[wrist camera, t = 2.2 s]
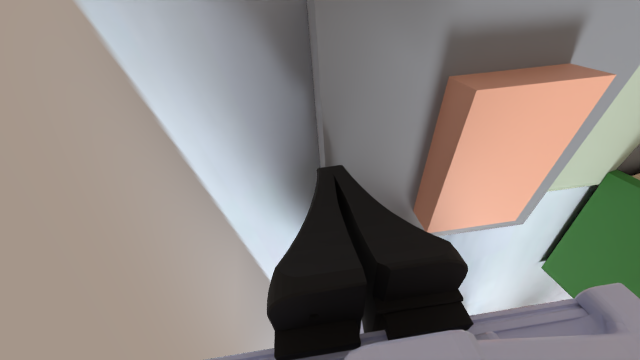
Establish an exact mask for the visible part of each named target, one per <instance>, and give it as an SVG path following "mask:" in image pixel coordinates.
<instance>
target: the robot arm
mask: <svg viewBox="0 0 640 360" xmlns="http://www.w3.org/2000/svg"><path fill="white" fill-rule="evenodd" d="M467 272H468V266H467V264H466V263H465V262H464V260H463V259H462V257H461V256H460V254H459V253H458V251H457V250H456V249H455V248H454V247H453V245H452V244H451V243H450V242H449V241H446V240H444V239H442V238H440V237H437V236H435V235H433V234H430V233H428V232H426V231H424V230H422V229H420V228H418V227H416V226H414V225H413V224H411V223H409V222H407V221H406V220H404V219H402V218H401V217H399V216H397V215H396V214H394V213H393V212H391V211H390V210H388V209H387V208H386V207H384V206H383V205H382V204H380V203H379V202H378V201H377V200H376V199H374V198H373V197H372V196H371V195H370V194H369V193H368V192H367V191H366V190H364V189H363V188H362V187H361V185H360V184H359V183H358V182H357V181H356V180H355V179H354V178H353V177H352V176H351V175H350V174H349V172H348V171H347V170H346V169H345V167H344V166H343V165H337V166H329V167H321V168H318V169H317V183H316V188H315V193H314V197H313V200H312V203H311V206H310V209H309V211H308V214H307V216H306V219H305V221H304V223H303V225H302V227H301V229H300V231H299V233H298V235H297V236H296V238H295V240H294V241H293V243H292V245H291V246H290V248H289V249H288V251H287V252H286V254H285V255H284V257H283V258H282V259H281V261H280V262H279V263H278V265H277V266H276V267H275V270H274V273H273V276H272V279H271V283H270V287H269V292H268V299H267V316H268V318H269V320H270V322H271V324H272V326H273V328H274V330H275V344H274V348H272V349H267V350H260V351H254V352H248V353H242V354H236V355H230V356H224V357H217V358H211V359H205V360H640V299H639V298H638V297H637V296H636V295H635V294H634V293H632V292H631V291H630V290H629V289H628V288H627V287H625V286H624V285H623V284H621V283H613V284H607V285H601V286H595V287H591V288H588V289H586V290H584V291H582V292H580V293H579V294H578V295H577V296H576V297H575V298H574V299H568V300H562V301H556V302H550V303H544V304H538V305H532V306H526V307H520V308H514V309H508V310H502V311H496V312H490V313H483V314H477V315H471V316H469V315H468V313H467V311H466V309H465V308H464V306H463V304H462V301H463V297H462V295H461V293H460V291H459V290H458V288H459V287H460V285H461V283H462V282H463V280H464V279H465V277H466V274H467Z"/></svg>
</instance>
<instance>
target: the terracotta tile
mask: <svg viewBox="0 0 640 360" xmlns="http://www.w3.org/2000/svg"><path fill="white" fill-rule="evenodd" d="M615 76H616V74H612V73H608V72H603V71H599V70H595V69H591V68H587V67H583V66H579V65H575V64H571V63H569V64H560V65H551V66H541V67H532V68H523V69H514V70H504V71H495V72H486V73H477V74H467V75H458V76H449V78H448V82H447V86H446V89H445V93H444V97H443V101H442V104H441V108H440V112H439V116H438V119H437V123H436V127H435V131H434V134H433V138H432V142H431V146H430V149H429V153H428V157H427V161H426V164H425V168H424V172H423V175H422V179H421V183H420V187H419V190H418V194H417V198H416V202H415V205H414V209H413V212H414V213H415V215H416V217H417V218H418V220H419V222H420V223H421V225H422V227H423V229H424V230H425V231H426V232H428V233H434V232H441V231H448V230H455V229H462V228H468V227H475V226H482V225H489V224H496V223H503V222H510V221H516V219H517V218H518V216H519V215H520V213H521V212H522V210H523V209H524V208H525V206H526V205H527V203H528V202H529V200H530V199H531V197H532V196H533V195H534V193H535V192H536V190H537V189H538V187H539V186H540V184H541V183H542V182H543V180H544V179H545V177H546V176H547V174H548V173H549V171H550V170H551V169H552V167H553V166H554V164H555V163H556V161H557V160H558V159H559V157H560V156H561V154H562V153H563V151H564V150H565V148H566V147H567V146H568V144H569V143H570V141H571V140H572V138H573V137H574V135H575V134H576V133H577V131H578V130H579V128H580V127H581V125H582V124H583V122H584V121H585V120H586V118H587V117H588V115H589V114H590V112H591V111H592V109H593V108H594V107H595V105H596V104H597V102H598V101H599V99H600V98H601V96H602V95H603V94H604V92H605V91H606V89H607V88H608V86H609V85H610V83H611V82H612V81H613V79H614V78H615Z"/></svg>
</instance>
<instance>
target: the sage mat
mask: <svg viewBox="0 0 640 360" xmlns="http://www.w3.org/2000/svg"><path fill="white" fill-rule="evenodd" d="M639 144H640V65H639V67H638V68H637V69H636V71H635V72H634V74H633V75H632V76H631V78H630V79H629V80H628V82H627V83H626V84H625V86H624V87H623V89H622V90H621V91H620V93H619V94H618V95H617V97H616V98H615V99H614V101H613V102H612V104H611V105H610V106H609V108H608V109H607V110H606V112H605V113H604V114H603V116H602V117H601V119H600V120H599V121H598V123H597V124H596V125H595V127H594V128H593V129H592V131H591V132H590V134H589V135H588V136H587V138H586V139H585V140H584V142H583V143H582V144H581V146H580V147H579V149H578V150H577V151H576V153H575V154H574V155H573V157H572V158H571V159H570V161H569V162H568V163H567V165H566V166H565V168H564V169H563V170H562V172H561V173H560V174H559V176H558V177H557V178H556V180H555V181H554V183H553V184H552V185H551V187H550V188H549V189H548V191H555V190H562V189H569V188H577V187H584V186H591V185H598V184H601V182H602V181H603V179H604V178H605V176H606V175H607V174H608V173H609V172H612V171H615V170H616V169H617V168H618V167H619V166H620V165H621V164H622V163H623V162H624V160H625V159H626V158H627V157H628V156H629V155H630V154H631V153H632V152H633V151H634V150H635V148H636V147H637V146H638V145H639ZM548 191H547V192H548Z"/></svg>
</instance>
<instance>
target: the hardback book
mask: <svg viewBox="0 0 640 360" xmlns="http://www.w3.org/2000/svg"><path fill="white" fill-rule="evenodd" d="M542 269H543V270H544V271H545V272H546V273H547V274H548V275H549V276H551V277H552V278H553V279H554V280H555V281H556V282H557V283H558V284H559V285H560V286H561V287H562V288H563V289H564V290H565V291H566V292H567V293H568V294H569V295H570V296H571V297H572V298H575V297H576V296H577V295H578V294H579V293H580V292H582V291H584V290H586V289H588V288H591V287H595V286H601V285H607V284H613V283H621V284H623V285H624V286H625V287H627V288H628V289H629V290H630V291H631V292H632V293H634V294H635V295H636V296H637V297H638V298H639V299H640V173H639V174H636V175H633V176H630V175H628V174H626V173H624V172H622V171H620V170H615V171H612V172H609V173H608V174H607V175H606V176H605V178H604V179H603V181H602V182H601V184H600V185H599V186H598V188H597V189H596V191H595V192H594V194H593V195H592V196H591V198H590V199H589V201H588V202H587V203H586V205H585V206H584V208H583V209H582V211H581V212H580V213H579V215H578V216H577V218H576V219H575V221H574V222H573V223H572V225H571V226H570V228H569V229H568V231H567V232H566V233H565V235H564V236H563V238H562V239H561V240H560V242H559V243H558V245H557V246H556V248H555V249H554V250H553V252H552V253H551V255H550V256H549V258H548V259H547V260H546V262H545V263H544V265H543V266H542Z"/></svg>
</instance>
